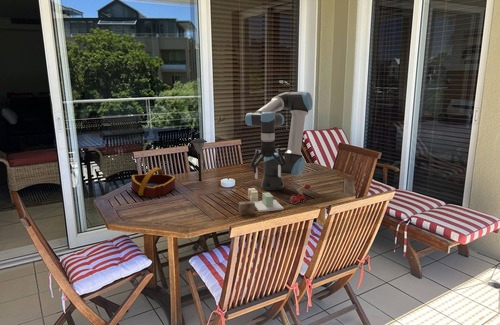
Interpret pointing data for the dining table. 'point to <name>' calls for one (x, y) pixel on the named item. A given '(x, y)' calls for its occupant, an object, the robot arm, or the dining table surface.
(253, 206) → the walnut brick
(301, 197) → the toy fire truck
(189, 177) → the dining table surface
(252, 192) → the birch brick
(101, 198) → the dining table surface
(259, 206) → the grey plate
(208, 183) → the dining table surface
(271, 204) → the sage brick
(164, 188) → the decorative basket
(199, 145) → the solar garden light
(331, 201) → the dining table surface
